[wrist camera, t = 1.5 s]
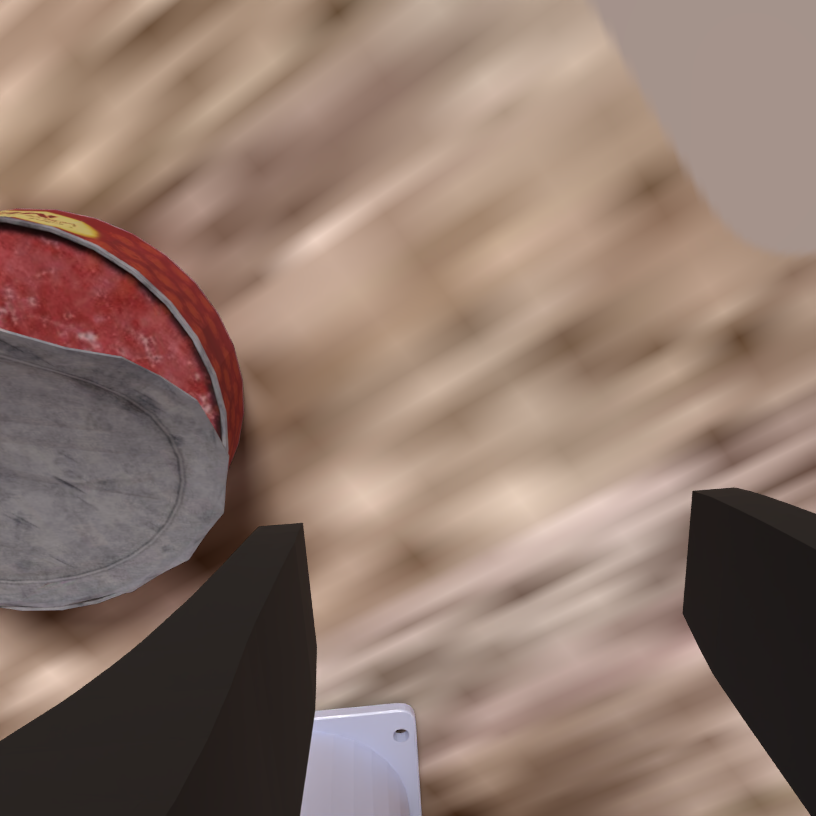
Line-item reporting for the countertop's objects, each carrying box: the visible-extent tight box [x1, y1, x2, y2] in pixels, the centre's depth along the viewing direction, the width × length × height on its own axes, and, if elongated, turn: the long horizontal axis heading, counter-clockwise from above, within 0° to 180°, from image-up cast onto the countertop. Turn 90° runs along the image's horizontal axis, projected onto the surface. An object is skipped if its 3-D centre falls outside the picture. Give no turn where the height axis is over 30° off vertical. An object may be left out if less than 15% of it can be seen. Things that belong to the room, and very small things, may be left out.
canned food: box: [0, 209, 244, 611], centre depth 17 cm, size 11×10×10 cm
